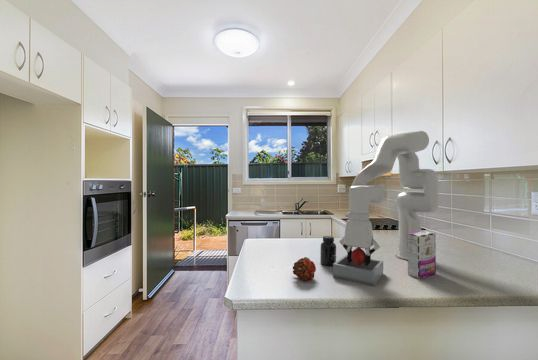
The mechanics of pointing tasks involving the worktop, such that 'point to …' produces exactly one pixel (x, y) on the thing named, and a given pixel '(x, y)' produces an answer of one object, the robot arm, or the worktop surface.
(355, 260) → the pomegranate
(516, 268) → the worktop surface
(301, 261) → the dragon fruit
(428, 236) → the candy bar box
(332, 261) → the supplement bottle
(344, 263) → the bin
